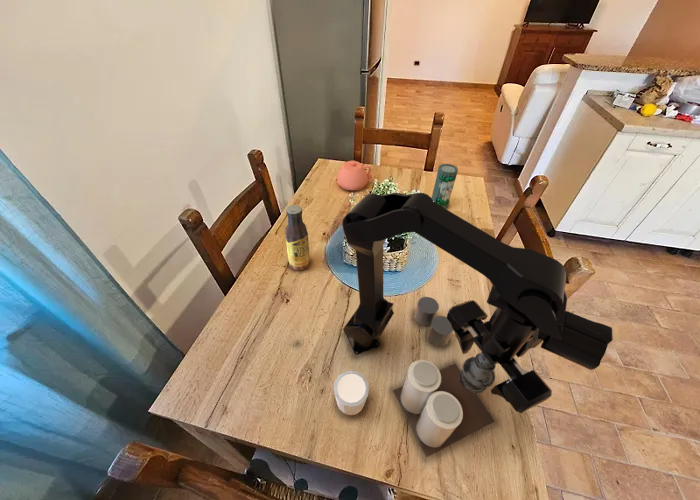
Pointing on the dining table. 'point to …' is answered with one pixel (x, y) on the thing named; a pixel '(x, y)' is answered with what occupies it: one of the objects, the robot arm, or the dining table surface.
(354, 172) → the sugar bowl
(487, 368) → the grey chess piece
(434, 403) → the white shaker front
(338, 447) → the dining table surface
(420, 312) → the grey jar
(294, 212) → the sauce bottle
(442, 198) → the can
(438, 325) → the grey jar
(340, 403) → the white candle jar
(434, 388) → the white shaker back
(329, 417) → the dining table surface
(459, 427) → the walnut board
